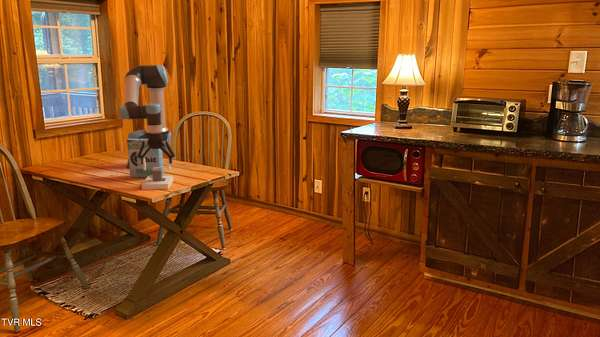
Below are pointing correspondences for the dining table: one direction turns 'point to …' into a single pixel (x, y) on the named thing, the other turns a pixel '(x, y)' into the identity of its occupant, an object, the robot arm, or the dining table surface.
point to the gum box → (151, 157)
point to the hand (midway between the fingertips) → (157, 169)
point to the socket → (157, 183)
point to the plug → (157, 174)
